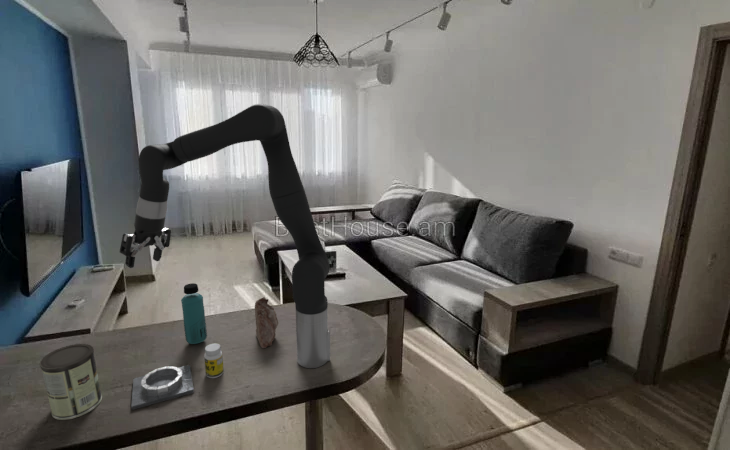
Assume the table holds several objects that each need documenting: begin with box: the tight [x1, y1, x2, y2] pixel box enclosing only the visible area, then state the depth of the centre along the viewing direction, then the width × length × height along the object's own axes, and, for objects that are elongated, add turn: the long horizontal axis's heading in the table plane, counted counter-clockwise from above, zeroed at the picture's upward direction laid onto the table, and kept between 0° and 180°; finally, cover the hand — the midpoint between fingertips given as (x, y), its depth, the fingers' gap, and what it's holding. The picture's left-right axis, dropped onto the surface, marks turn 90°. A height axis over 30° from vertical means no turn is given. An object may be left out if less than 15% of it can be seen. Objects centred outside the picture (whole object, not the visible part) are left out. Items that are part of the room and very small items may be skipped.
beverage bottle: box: [180, 283, 208, 345], centre depth 120 cm, size 6×7×20 cm
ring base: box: [130, 364, 195, 411], centre depth 102 cm, size 14×12×3 cm
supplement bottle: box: [203, 343, 225, 379], centre depth 107 cm, size 5×5×8 cm
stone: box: [254, 296, 279, 349], centre depth 124 cm, size 15×7×10 cm
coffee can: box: [39, 343, 103, 421], centre depth 93 cm, size 10×10×14 cm
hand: (143, 263), depth 114 cm, fingers open, 8 cm apart
